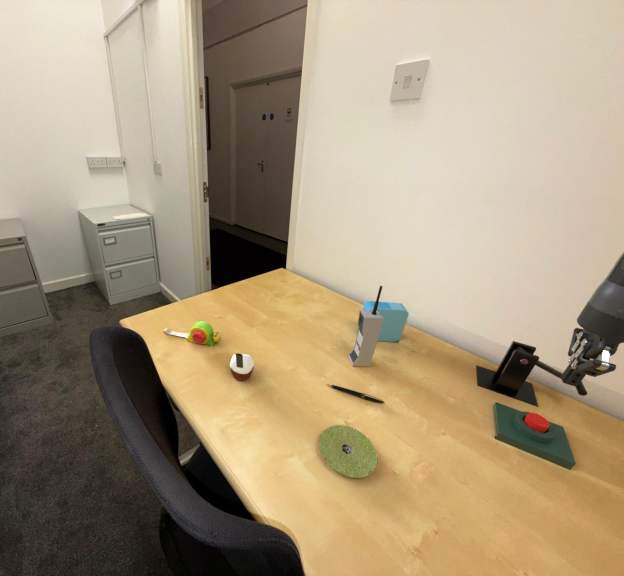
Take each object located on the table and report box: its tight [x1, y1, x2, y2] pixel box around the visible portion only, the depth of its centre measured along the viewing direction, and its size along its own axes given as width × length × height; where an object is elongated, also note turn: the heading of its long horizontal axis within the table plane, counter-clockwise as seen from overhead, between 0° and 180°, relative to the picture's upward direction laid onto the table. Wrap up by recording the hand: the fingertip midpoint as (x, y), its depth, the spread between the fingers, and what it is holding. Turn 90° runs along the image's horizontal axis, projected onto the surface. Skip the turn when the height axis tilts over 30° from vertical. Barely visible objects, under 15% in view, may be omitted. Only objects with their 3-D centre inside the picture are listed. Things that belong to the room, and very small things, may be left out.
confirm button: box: [524, 412, 550, 433], centre depth 64 cm, size 4×4×2 cm
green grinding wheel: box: [318, 424, 378, 479], centre depth 61 cm, size 11×11×2 cm
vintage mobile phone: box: [348, 285, 384, 368], centre depth 80 cm, size 4×5×25 cm
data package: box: [357, 300, 410, 343], centre depth 94 cm, size 12×4×12 cm, turn 84°
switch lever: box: [512, 346, 588, 397], centre depth 71 cm, size 14×6×2 cm, turn 57°
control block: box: [492, 401, 576, 471], centre depth 65 cm, size 12×10×4 cm
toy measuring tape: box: [162, 320, 221, 346], centre depth 93 cm, size 6×19×7 cm, turn 71°
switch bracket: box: [475, 340, 540, 408], centre depth 75 cm, size 12×9×13 cm
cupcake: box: [229, 352, 255, 381], centre depth 77 cm, size 10×6×12 cm, turn 147°
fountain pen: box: [326, 383, 386, 404], centre depth 75 cm, size 14×1×2 cm, turn 66°
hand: (568, 382), depth 59 cm, fingers closed
